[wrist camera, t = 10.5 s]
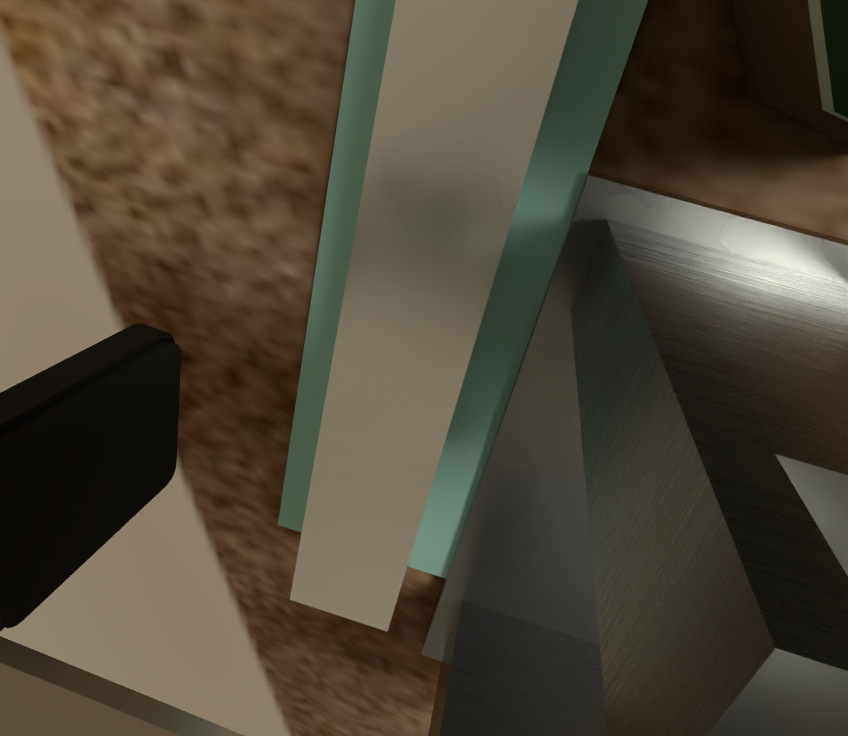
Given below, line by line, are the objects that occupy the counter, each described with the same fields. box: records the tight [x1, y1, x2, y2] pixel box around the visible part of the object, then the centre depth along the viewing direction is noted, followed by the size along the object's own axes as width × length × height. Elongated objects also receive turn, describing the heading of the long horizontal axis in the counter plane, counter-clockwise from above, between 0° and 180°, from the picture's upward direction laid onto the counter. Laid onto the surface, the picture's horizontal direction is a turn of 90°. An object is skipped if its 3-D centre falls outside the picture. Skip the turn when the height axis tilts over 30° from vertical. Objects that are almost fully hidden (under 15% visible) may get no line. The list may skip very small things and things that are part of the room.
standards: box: [421, 171, 848, 736], centre depth 12 cm, size 7×17×12 cm, turn 167°
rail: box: [290, 0, 578, 632], centre depth 15 cm, size 3×17×3 cm, turn 167°
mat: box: [278, 0, 648, 579], centre depth 16 cm, size 6×18×1 cm, turn 167°
